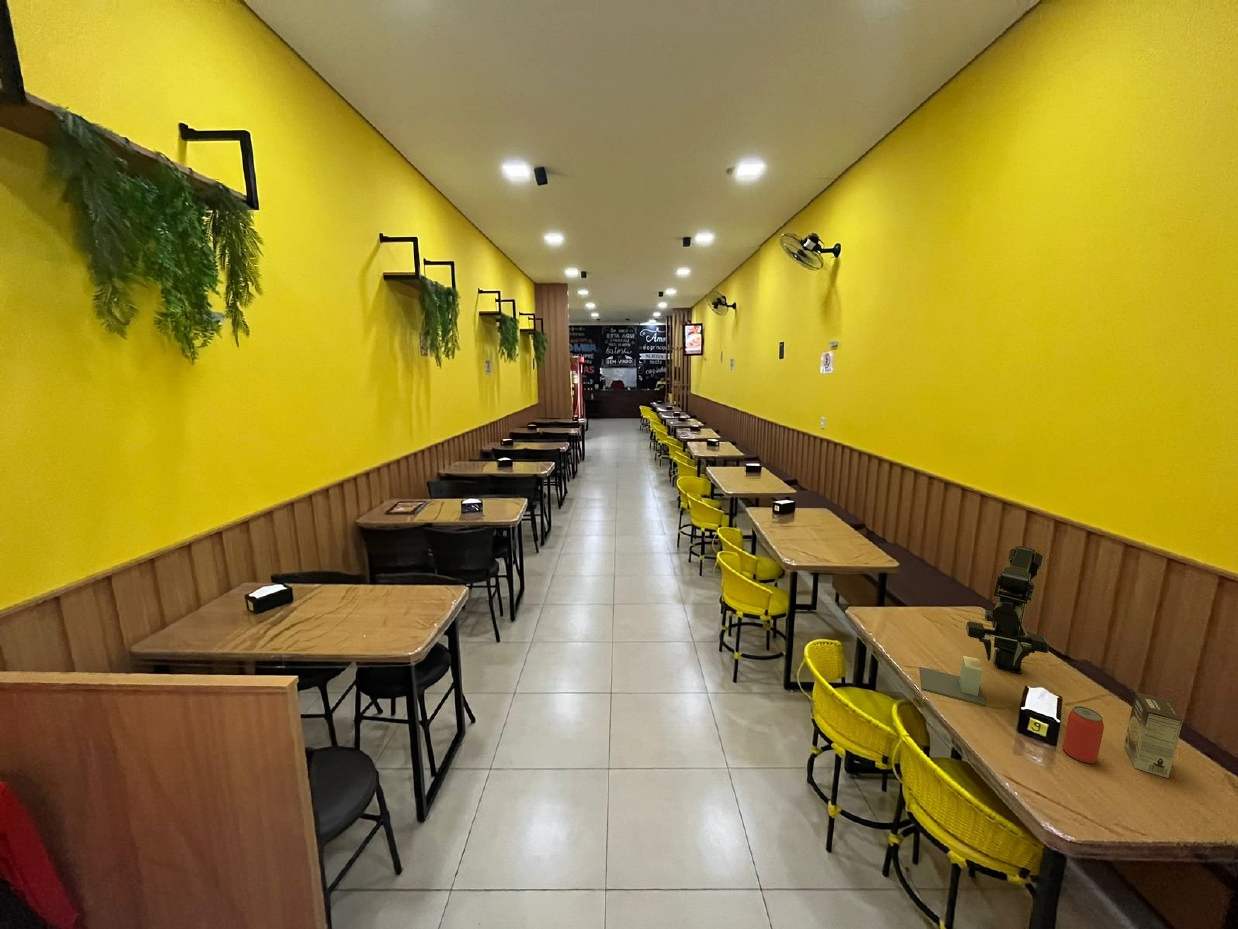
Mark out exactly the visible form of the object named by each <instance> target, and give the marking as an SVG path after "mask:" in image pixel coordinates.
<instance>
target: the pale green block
mask: <svg viewBox="0 0 1238 929" xmlns="http://www.w3.org/2000/svg"><path fill="white" fill-rule="evenodd" d="M982 672H983V667H982V665H981V662H980V659H979V658H975V657H970V656H966V655H962V661H961V668H960V675H959V676H960V680H959V683H960V687H961V691H962V692H963V693H967V694H971V695H975V696H978V692H979V685H980V684H981V677H982ZM980 686H981V685H980Z"/></svg>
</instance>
